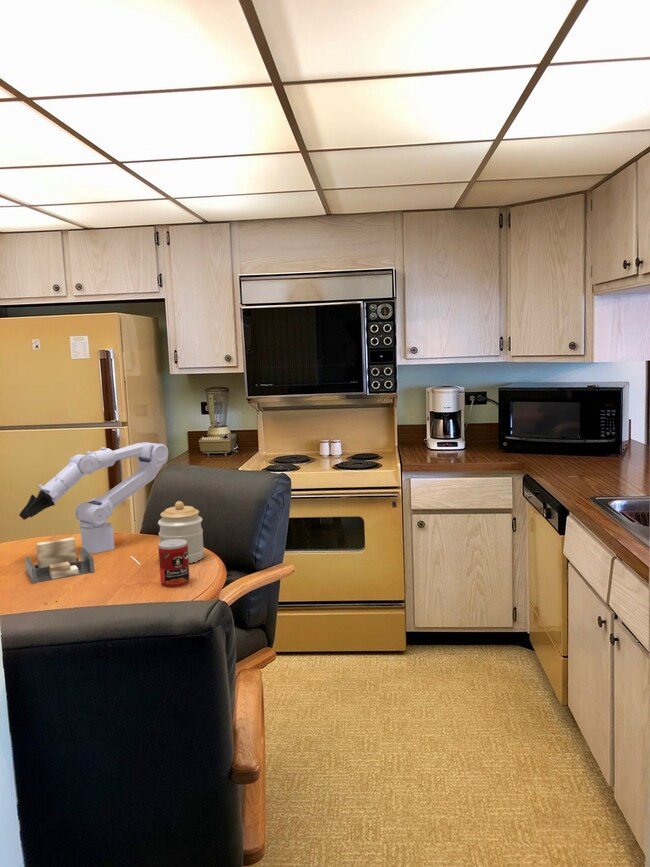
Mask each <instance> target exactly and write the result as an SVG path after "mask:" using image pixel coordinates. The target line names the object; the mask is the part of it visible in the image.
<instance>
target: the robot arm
mask: <svg viewBox="0 0 650 867" xmlns="http://www.w3.org/2000/svg"><path fill="white" fill-rule="evenodd" d="M135 457H137V462H138V463H137V465H138V469H137V471H135V472H133V473H132V474H131V475H130V476H128V477H126V478H125V479H124V480H122V481H121V482H120V483H118V484H117V485H115V486H114V487H113V488H111V489H109V490H108V491H107V492H105V493H104V494H102V495H101V496H98V497H94V498H91V499H90V500H89V501H83V502H81V503H79V504H78V505H77V506H76V508H75V513H74V514H75V519H77V520H78V521H79V525H80V526H79V527H80V537H81V538H80V539H81V541H80V542H81V548H84V549H85V550H86V551H87V552H88V553H89V554H99V553H102V552H106V551H107V552H108V551H112V550H115V538H114V537H115V536H114V534H115V533H114V528H113V525H112V523H111V522H108V519H109V518H110V517H111V516H112V515H113V514H114V509H115V508H116V507H118V506H119V505H120V504H122V503H123V502H124V501H126V500H127V499H128V498H130V497H131V496H133V495H134V494H136V493H137V492H138V491H139V490H141V489H142V488H144V487H145V486H146V485H148V484H149V483H151V482H152V481H153V480H155V479H156V476H157V475H158V473H159V472H160V470H161V469H162V467H163V466H164V465H165V464H166V463H167V462H168V460H169V449H168V447H167V445H165V444H163V443H153V442H148V441H143V442H137V443H133V444H131V445H127V446H123V447H121V448H118V449H114V450H112V449H110V447H109V448H107V447H105V446H103V447H100V448H99V450H96V451H91V450H89V451H86V453H85V454H80V453H79V454H76V455H72V456H71V457H70V458H69V461H68V464H67V465H66V466H65V467H63V469H61V470H60V471H59V472H58V473H57V474H55V475H54V477H52V478H51V479H50V480H49V481H48V482H46V483H45V484H44V485H43V484H38V485H37V488H38V489H39V492H38V494H37V496H35V495H34V494H31V495H30V497H29V500H28V502H27V503H26V505H25V506H24V507H23V509H22V510H21V511H20V513H19V514H18V515H19V517H20V518H21V519H22V520H24V521H25V520H27V519H28V518H33V517H35V516H36V515H38V514H39V513H41V512H42V511H44V510H45V509H47V508H50V507H54V506H55V505H56V503H57V502H58V500H59V499H61V498H62V497H63V496H64V495H65V494H66V493H67V492H68V491H69V490H70V489H71V488H72V487H74V486H75V485H76V484H77V483H78V482H79V481H80V480H81V479H82V478H84V476H85V475H92V474H94V472H96V471H98V470H99V471H100V470H102V469H106V468H110V467H113V466H114V465H115V463H116V462H117V461H120V460H125V459H129V458H135Z"/></svg>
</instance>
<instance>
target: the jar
mask: <svg viewBox="0 0 650 867" xmlns="http://www.w3.org/2000/svg"><path fill="white" fill-rule="evenodd" d="M199 514H200V510H199V509H198V508H197V509H196V508H195V507H194V506H191V505H185V504H184V502H183V501H181V500H177V501H176V502H175V504H174V506H172V507H171V506H170V507H168V508H165V509H164V510H163V511H161V513H160V517H161V518H160V519H159V520H158V521H157V525H158V526H159V532H158V536H159V543H160V542H162V541H165V540H169V539H183V540H186V541H187V544H188V559H189V563H191V564H194V563H193V562H195V563H197V562H196V561H198V560H200V559H201V558H204V554H205V548H204V538H203V537H204V536H203V535H204V534H203V531H204V530H203V528H202V524H201V523H202V522H203V518H202V516H199ZM201 560H202V559H201ZM201 560H200V561H201ZM198 562H199V561H198Z"/></svg>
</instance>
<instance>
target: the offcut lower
mask: <svg viewBox="0 0 650 867" xmlns="http://www.w3.org/2000/svg"><path fill="white" fill-rule="evenodd" d="M70 569H71V570H67V571H62V572H56V573H51V572H50V570H49V573H50V576H51V578H52V579H54V578H60V577H65V576H71V575H76V574H79V571H78V568H77V566H76V565H74V566H70Z"/></svg>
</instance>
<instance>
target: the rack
mask: <svg viewBox="0 0 650 867" xmlns="http://www.w3.org/2000/svg"><path fill="white" fill-rule="evenodd" d="M79 552H80V560H79V558H78V557H76V561H77V562H72V563H69V564H70V566H74V565H76V566H77V568H78V571H79V574H76V575H71V576H65V577H60V578H54V579H52V578H51V576H50V573H49V567H43V568H38V563H37V564H34V563H33V561H32V560H31V557H30V556H25V557H24V560H25V569H26V574H27V575H28V577H29V578H30V581H31V582H32V584H39V583H44V582H45V583H46V582H49V581H54V580H60V579H65V578H70V577H77V576H83V575H88V574H93V573H95V564H94V557H93V556H92V555H91V553H88V552H87V551H86V550H85V549H84V548H82V547H80V548H79Z"/></svg>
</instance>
